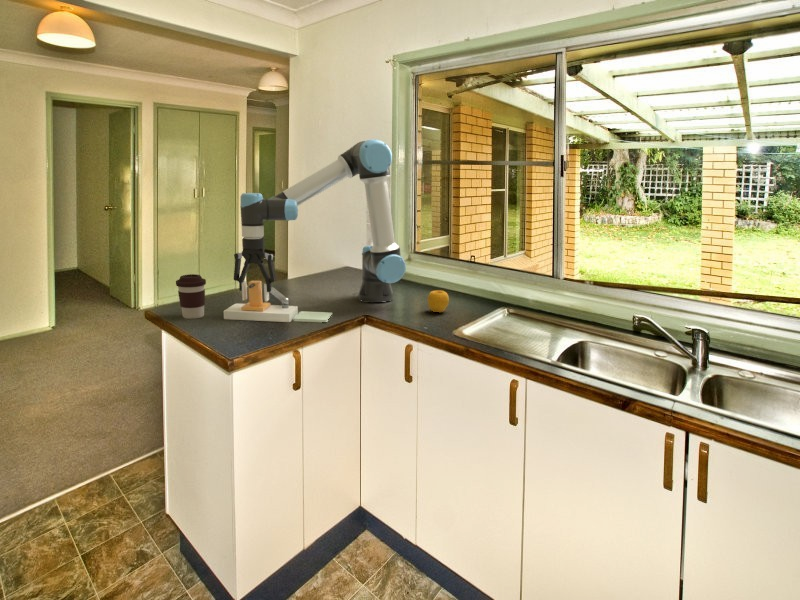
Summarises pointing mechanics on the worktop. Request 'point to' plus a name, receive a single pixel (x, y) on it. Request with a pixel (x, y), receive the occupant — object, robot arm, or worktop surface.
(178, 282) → the coffee cup
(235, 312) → the socket block
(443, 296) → the apple
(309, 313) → the pad
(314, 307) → the worktop surface
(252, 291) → the plug
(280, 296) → the grey metal rod
